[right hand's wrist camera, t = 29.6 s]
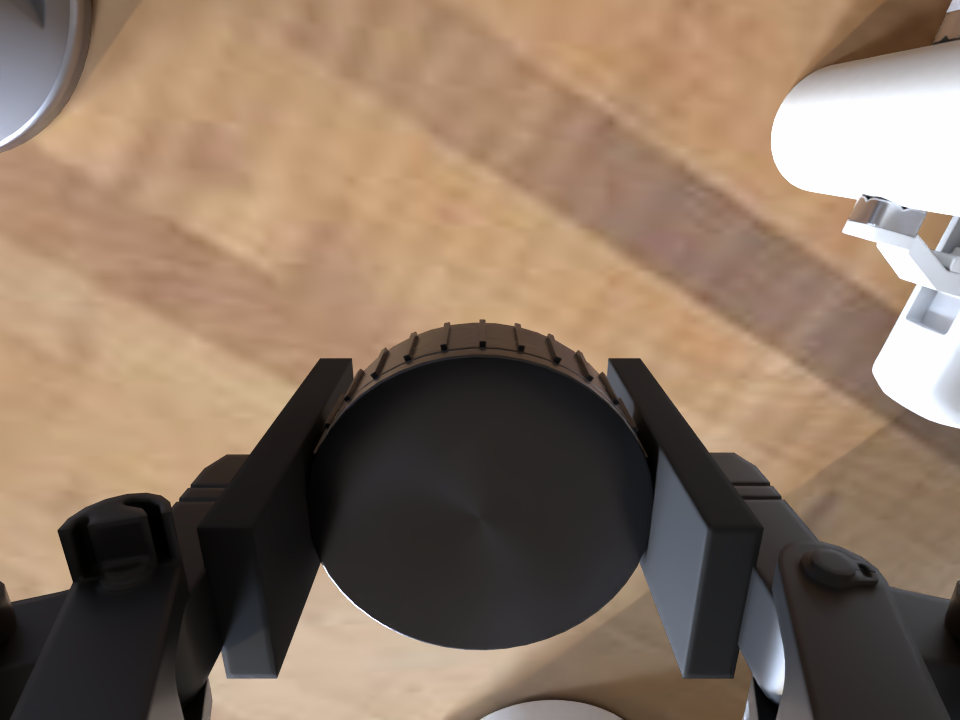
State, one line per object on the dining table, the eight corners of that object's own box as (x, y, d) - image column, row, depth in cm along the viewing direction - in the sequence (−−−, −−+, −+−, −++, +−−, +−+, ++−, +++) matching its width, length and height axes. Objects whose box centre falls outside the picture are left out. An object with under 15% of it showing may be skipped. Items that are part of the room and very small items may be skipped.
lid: (661, 548, 13) (688, 610, 11) (389, 614, 14) (375, 684, 12) (594, 276, 11) (616, 302, 9) (276, 371, 11) (240, 412, 10)
